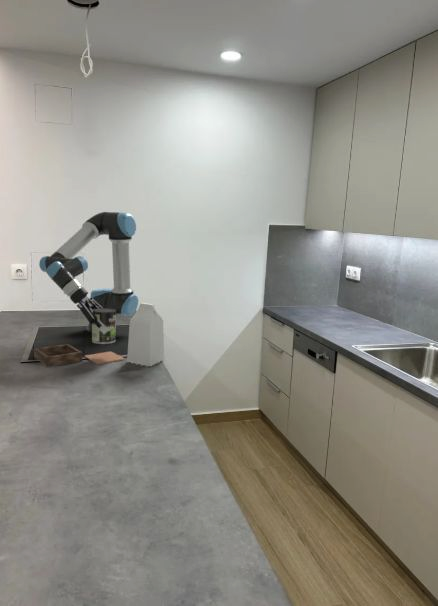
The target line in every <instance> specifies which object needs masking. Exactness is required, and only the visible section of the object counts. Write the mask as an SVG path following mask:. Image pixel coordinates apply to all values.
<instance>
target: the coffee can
mask: <svg viewBox="0 0 438 606" xmlns="http://www.w3.org/2000/svg"><path fill="white" fill-rule="evenodd" d="M92 311H93V312H94V314H95V316H96V318H97V320H98V319H99V320H100V321H101V322H102V323H103V324H104V325H105V326H106V327H107V329H108V330H109V331H107V332H106V333H105V334H103V333H102V332H101V331H100V330H99V329H98V327H97V326H96V325H95V324H94V323H93V324H92V333H91V342H92V343H93V344H98V345H106V344H108V345H109V344H113V343H116V327H117V323H116V319H117V314H116V310H115V309H111V308H96V309H93V310H92Z"/></svg>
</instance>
